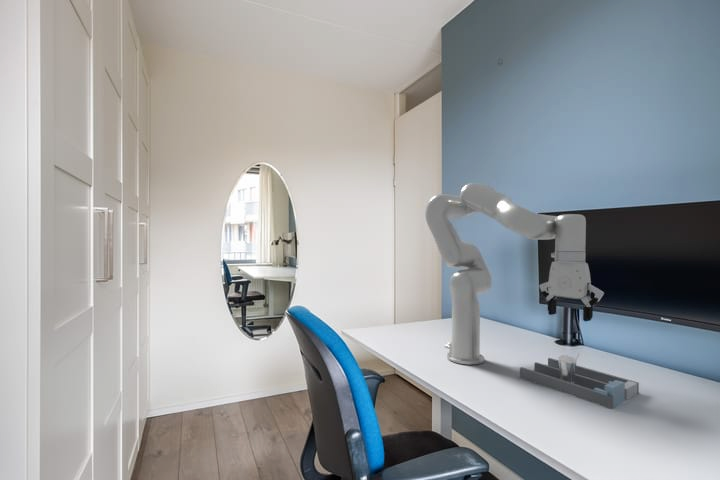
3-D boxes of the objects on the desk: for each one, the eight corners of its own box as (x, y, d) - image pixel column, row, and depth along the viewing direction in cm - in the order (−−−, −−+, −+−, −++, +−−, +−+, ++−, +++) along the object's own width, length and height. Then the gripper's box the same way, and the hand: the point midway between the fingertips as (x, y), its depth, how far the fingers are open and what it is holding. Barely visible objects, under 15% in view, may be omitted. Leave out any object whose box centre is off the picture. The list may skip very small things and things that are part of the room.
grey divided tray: (519, 377, 113) (519, 361, 113) (549, 366, 122) (549, 351, 122) (611, 408, 92) (611, 389, 92) (638, 393, 102) (638, 375, 102)
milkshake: (582, 391, 102) (582, 356, 102) (561, 390, 103) (561, 354, 103) (575, 385, 107) (576, 351, 107) (555, 383, 108) (556, 350, 108)
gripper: (533, 256, 110) (533, 313, 110) (596, 259, 96) (595, 325, 96) (547, 255, 114) (546, 310, 114) (609, 259, 100) (608, 321, 100)
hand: (569, 317), depth 105 cm, fingers open, 9 cm apart
